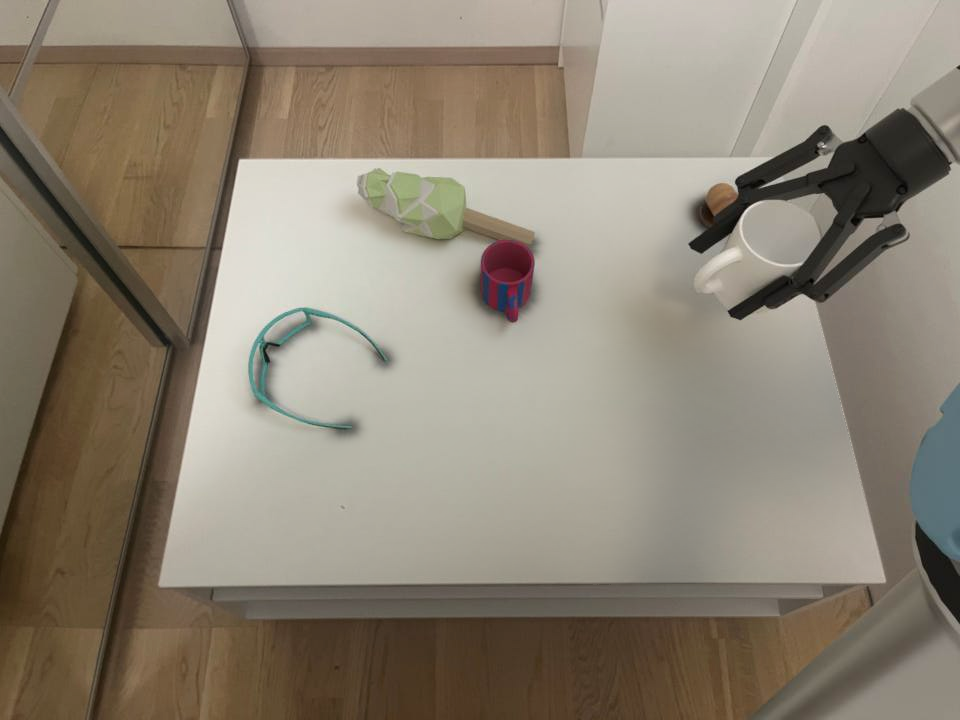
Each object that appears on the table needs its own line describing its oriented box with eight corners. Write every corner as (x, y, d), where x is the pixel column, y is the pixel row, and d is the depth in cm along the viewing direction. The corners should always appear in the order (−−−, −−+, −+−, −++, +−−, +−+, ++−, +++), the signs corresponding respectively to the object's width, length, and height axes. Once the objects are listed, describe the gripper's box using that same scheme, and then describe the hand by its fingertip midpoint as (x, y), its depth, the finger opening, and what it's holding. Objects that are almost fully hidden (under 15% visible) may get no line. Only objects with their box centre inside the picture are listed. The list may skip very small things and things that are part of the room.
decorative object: (540, 207, 94) (370, 146, 92) (544, 216, 85) (356, 148, 83) (519, 265, 97) (354, 208, 95) (520, 280, 88) (338, 216, 86)
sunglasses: (291, 307, 88) (285, 289, 83) (394, 351, 87) (394, 335, 82) (235, 399, 82) (224, 384, 77) (344, 447, 81) (340, 435, 76)
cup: (529, 268, 90) (533, 239, 84) (532, 334, 86) (536, 308, 80) (480, 268, 90) (480, 239, 84) (480, 334, 86) (480, 308, 80)
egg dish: (743, 227, 93) (757, 204, 89) (710, 237, 93) (722, 215, 88) (723, 196, 96) (736, 172, 91) (691, 205, 95) (702, 182, 90)
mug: (698, 335, 74) (729, 286, 64) (666, 274, 77) (691, 219, 68) (794, 305, 75) (839, 253, 66) (759, 247, 78) (796, 190, 69)
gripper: (1009, 237, 58) (774, 367, 71) (873, 73, 67) (684, 215, 79) (1001, 216, 53) (748, 361, 65) (854, 40, 61) (655, 198, 74)
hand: (713, 281), depth 72 cm, fingers closed on mug, 8 cm apart
